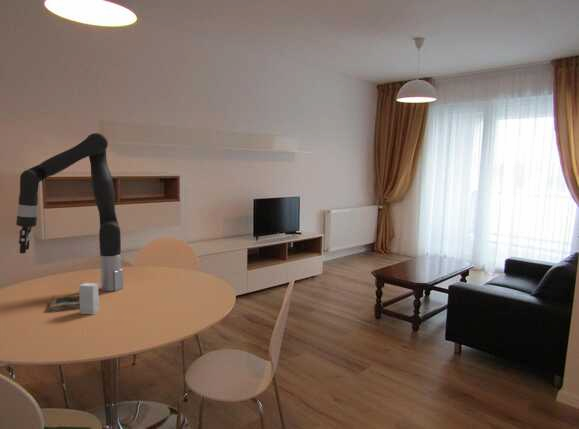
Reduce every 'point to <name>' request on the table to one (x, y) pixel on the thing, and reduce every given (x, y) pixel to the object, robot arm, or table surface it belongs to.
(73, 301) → the tray
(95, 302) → the skincare box
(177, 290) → the table surface
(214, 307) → the table surface
